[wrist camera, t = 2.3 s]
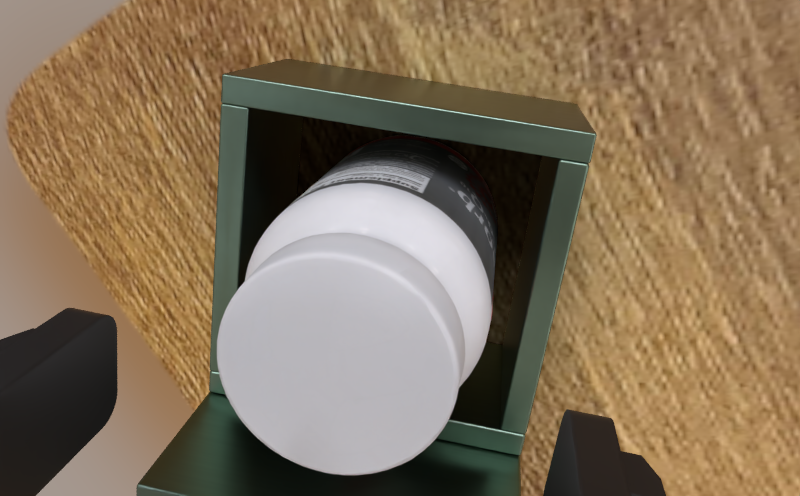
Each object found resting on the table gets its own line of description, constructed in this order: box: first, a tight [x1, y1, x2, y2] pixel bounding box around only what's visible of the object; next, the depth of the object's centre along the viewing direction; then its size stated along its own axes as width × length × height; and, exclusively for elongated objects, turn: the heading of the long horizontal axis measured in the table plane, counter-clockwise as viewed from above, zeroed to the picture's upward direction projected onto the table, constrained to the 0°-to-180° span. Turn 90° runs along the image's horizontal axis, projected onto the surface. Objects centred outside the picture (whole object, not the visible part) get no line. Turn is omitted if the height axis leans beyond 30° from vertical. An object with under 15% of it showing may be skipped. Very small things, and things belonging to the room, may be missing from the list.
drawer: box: [137, 59, 596, 496], centre depth 18 cm, size 10×9×9 cm
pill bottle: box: [217, 135, 498, 475], centre depth 17 cm, size 6×6×10 cm
